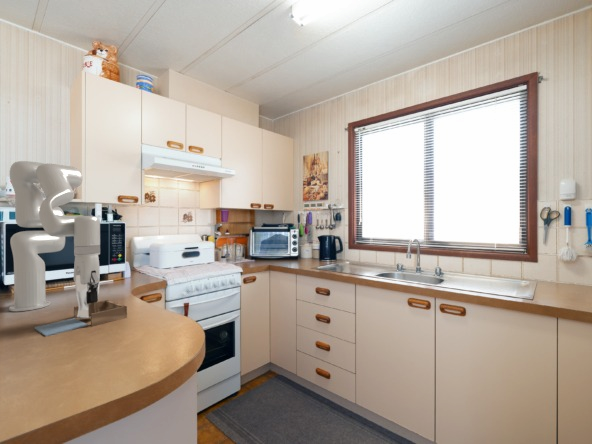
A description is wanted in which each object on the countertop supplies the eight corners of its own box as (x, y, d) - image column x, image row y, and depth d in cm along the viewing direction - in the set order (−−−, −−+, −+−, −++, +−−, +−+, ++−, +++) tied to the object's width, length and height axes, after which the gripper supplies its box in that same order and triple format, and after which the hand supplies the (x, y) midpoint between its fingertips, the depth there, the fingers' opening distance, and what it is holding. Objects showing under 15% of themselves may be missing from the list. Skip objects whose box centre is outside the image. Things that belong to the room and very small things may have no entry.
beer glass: (104, 313, 104) (103, 272, 104) (83, 319, 98) (82, 275, 98) (92, 311, 107) (91, 271, 107) (71, 317, 101) (70, 274, 101)
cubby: (74, 317, 106) (73, 306, 106) (107, 310, 115) (107, 300, 115) (92, 326, 96) (91, 314, 96) (126, 317, 105) (126, 306, 105)
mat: (34, 328, 95) (34, 327, 95) (74, 319, 104) (74, 318, 104) (45, 336, 88) (45, 335, 88) (87, 325, 97) (87, 324, 97)
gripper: (65, 250, 104) (65, 300, 104) (85, 253, 95) (85, 307, 95) (89, 248, 111) (89, 295, 111) (110, 251, 101) (110, 302, 101)
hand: (87, 300), depth 103 cm, fingers closed on beer glass, 6 cm apart
